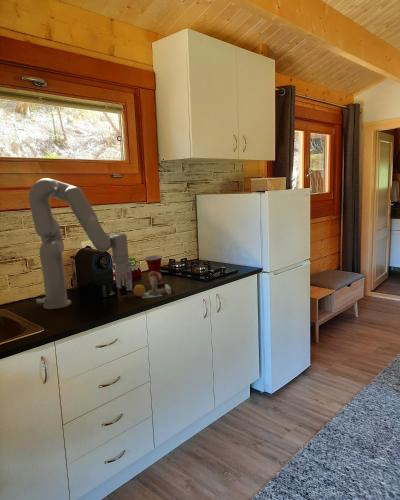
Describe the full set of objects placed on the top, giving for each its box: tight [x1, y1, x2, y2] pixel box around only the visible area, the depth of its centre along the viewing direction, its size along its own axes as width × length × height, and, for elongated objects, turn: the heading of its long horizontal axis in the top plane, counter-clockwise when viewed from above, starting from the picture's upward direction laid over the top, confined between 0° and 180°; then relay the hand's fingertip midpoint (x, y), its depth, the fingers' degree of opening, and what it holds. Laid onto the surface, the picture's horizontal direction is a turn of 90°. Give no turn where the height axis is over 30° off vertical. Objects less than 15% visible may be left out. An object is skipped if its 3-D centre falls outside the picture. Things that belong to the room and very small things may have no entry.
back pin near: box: [152, 279, 158, 296], centre depth 190 cm, size 2×2×8 cm
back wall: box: [164, 283, 172, 295], centre depth 196 cm, size 2×9×3 cm, turn 15°
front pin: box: [147, 288, 167, 295], centre depth 194 cm, size 2×2×8 cm
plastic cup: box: [144, 254, 163, 273], centre depth 235 cm, size 11×11×12 cm
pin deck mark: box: [140, 291, 163, 299], centre depth 193 cm, size 10×10×1 cm
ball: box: [132, 283, 146, 297], centre depth 191 cm, size 6×6×6 cm
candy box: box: [114, 259, 134, 292], centre depth 207 cm, size 14×6×16 cm, turn 26°
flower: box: [146, 271, 164, 287], centre depth 211 cm, size 10×9×8 cm
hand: (123, 295), depth 189 cm, fingers closed
